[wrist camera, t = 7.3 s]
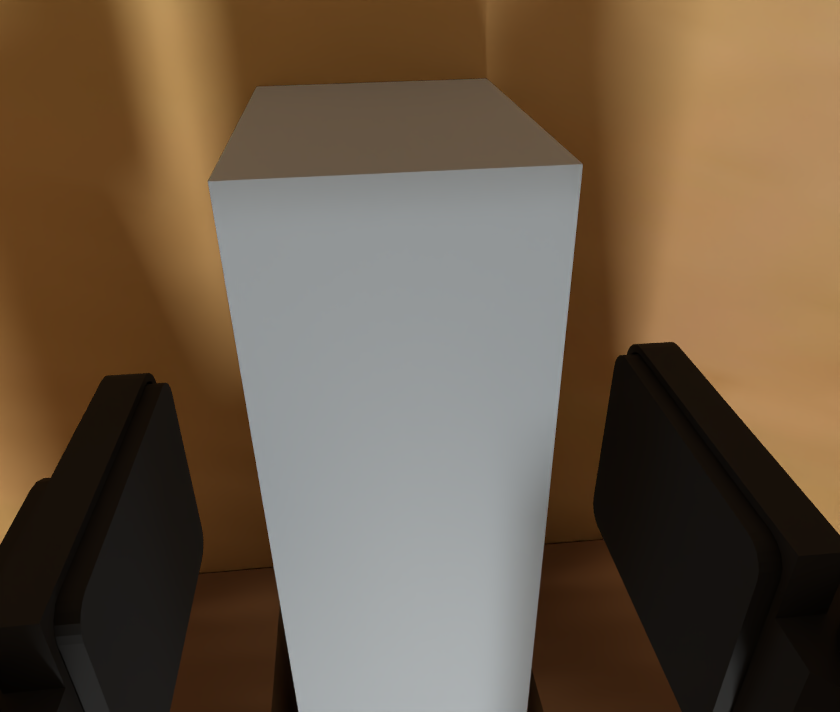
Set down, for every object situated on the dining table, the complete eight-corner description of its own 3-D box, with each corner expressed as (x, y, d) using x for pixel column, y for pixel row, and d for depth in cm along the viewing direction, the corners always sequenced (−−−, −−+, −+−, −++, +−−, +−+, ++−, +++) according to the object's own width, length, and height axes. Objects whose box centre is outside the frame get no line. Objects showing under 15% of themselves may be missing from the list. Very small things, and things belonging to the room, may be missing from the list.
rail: (486, 78, 11) (618, 196, 6) (468, 665, 19) (520, 941, 13) (256, 86, 11) (188, 217, 6) (331, 679, 18) (331, 967, 13)
